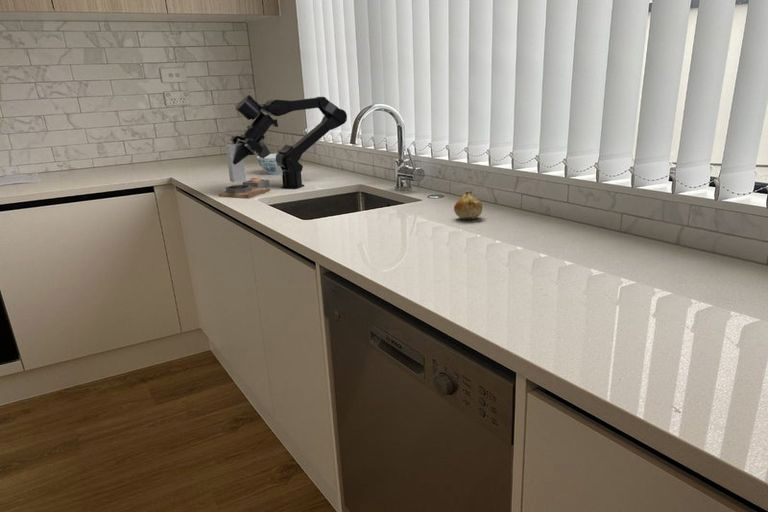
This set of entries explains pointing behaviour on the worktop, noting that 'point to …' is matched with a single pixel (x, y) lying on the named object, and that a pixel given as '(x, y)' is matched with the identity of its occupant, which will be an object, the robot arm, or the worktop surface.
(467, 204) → the onion
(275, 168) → the chinaware
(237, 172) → the billet
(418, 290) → the worktop surface
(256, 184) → the button housing
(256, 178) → the button
